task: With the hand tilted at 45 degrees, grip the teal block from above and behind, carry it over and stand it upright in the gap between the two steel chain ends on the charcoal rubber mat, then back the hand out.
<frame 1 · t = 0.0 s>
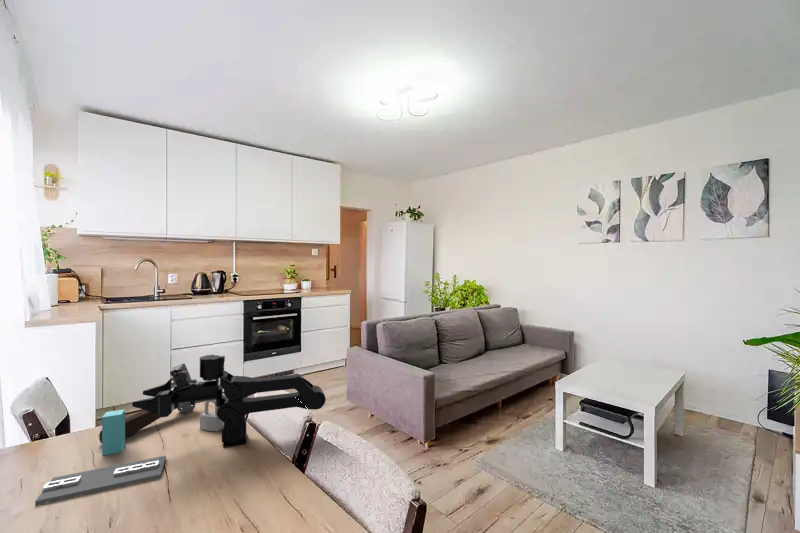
hand: (137, 398, 104), 17 cm above the table, tool horizontal, fingers open, 9 cm apart
padlock: (211, 429, 121), on the table
rubber mat: (97, 481, 92), on the table
hammer: (152, 426, 123), on the table
teal block: (113, 450, 107), on the table
steel chain: (104, 474, 92), on the rubber mat, point 1 cm above the table
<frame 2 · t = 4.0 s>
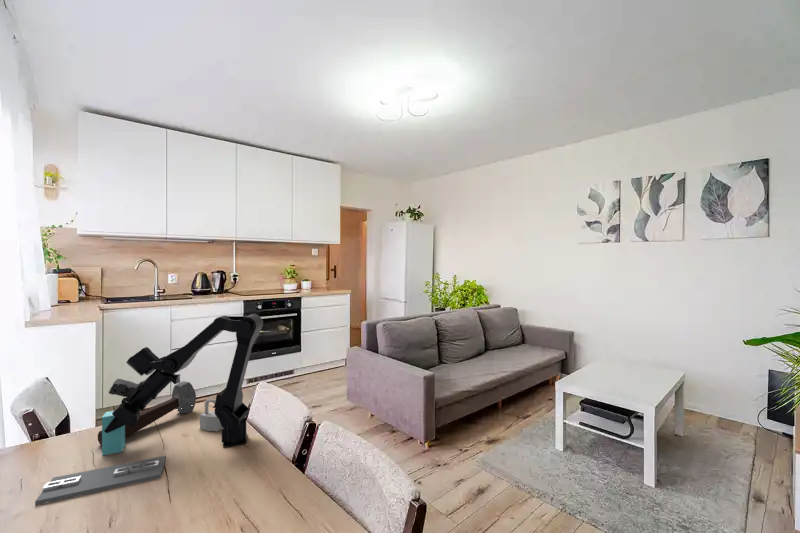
hand: (107, 428, 106), 7 cm above the table, tool tilted 45°, fingers closed on teal block, 4 cm apart
teal block: (113, 450, 107), on the table, touching gripper
everything else where it was.
when the fingers open (8 cm above the table, at t = 8.6 s): teal block stays where it is, resting on rubber mat.
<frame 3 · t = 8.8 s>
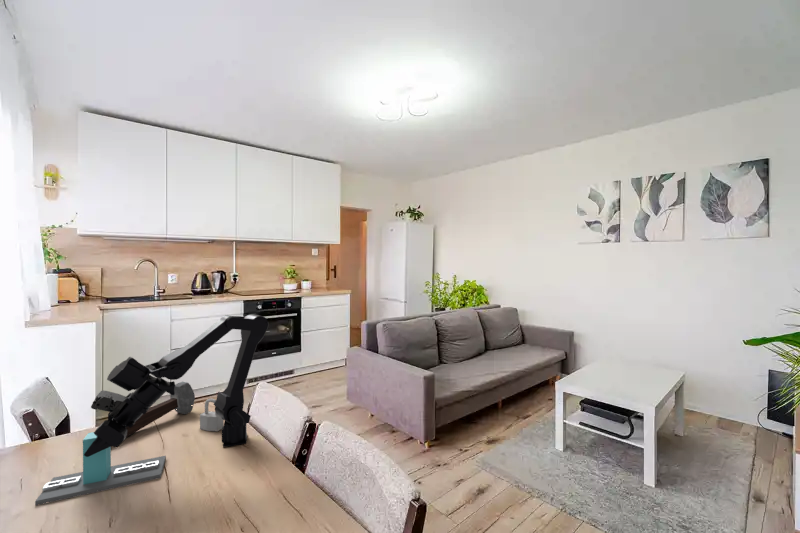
hand: (90, 449, 91), 9 cm above the table, tool tilted 45°, fingers open, 6 cm apart
teal block: (97, 477, 92), point 1 cm above the table, touching rubber mat
everything else where it was.
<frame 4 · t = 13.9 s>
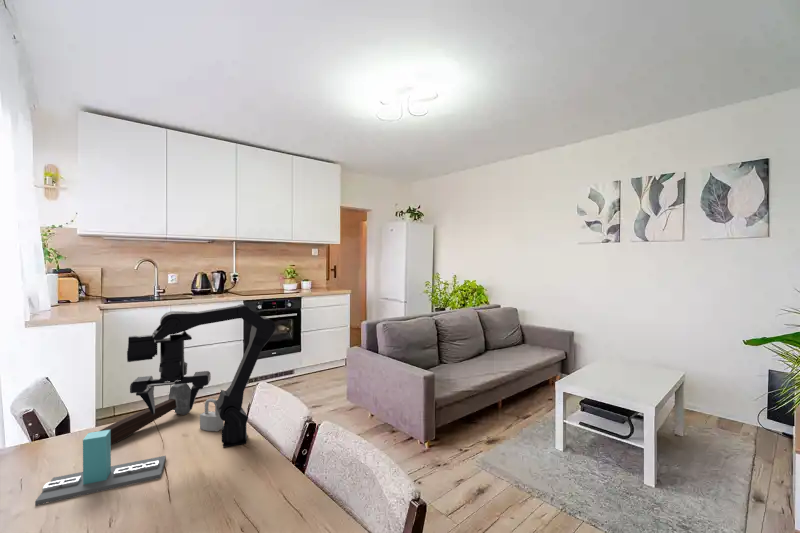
hand: (172, 411, 103), 13 cm above the table, tool pointing down, fingers open, 9 cm apart
at the end: teal block 0.0 cm off-centre on the rubber mat, point 1.0 cm above the rubber mat's base; teal block tilted 0°; the gripper is holding nothing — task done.
